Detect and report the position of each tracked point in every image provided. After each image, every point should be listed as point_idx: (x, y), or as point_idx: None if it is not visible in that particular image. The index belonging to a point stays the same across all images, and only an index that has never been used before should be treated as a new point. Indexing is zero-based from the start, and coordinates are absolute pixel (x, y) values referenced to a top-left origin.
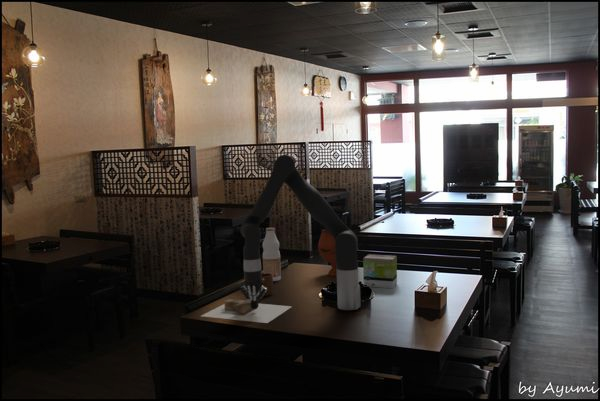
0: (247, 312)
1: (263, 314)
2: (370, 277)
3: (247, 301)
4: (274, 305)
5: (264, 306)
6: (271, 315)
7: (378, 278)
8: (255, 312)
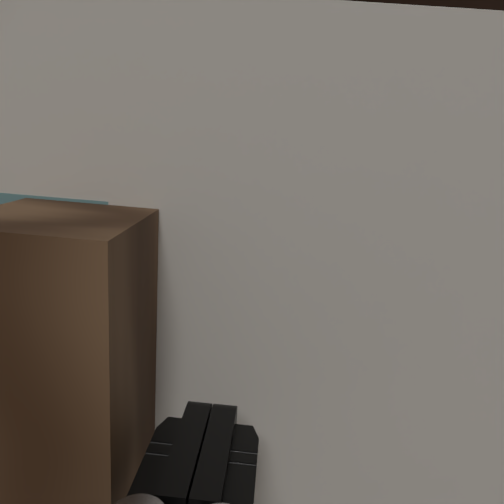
0: None
1: (366, 471)
2: None
3: (27, 447)
4: (380, 35)
5: (235, 132)
6: (481, 489)
7: None
8: None
